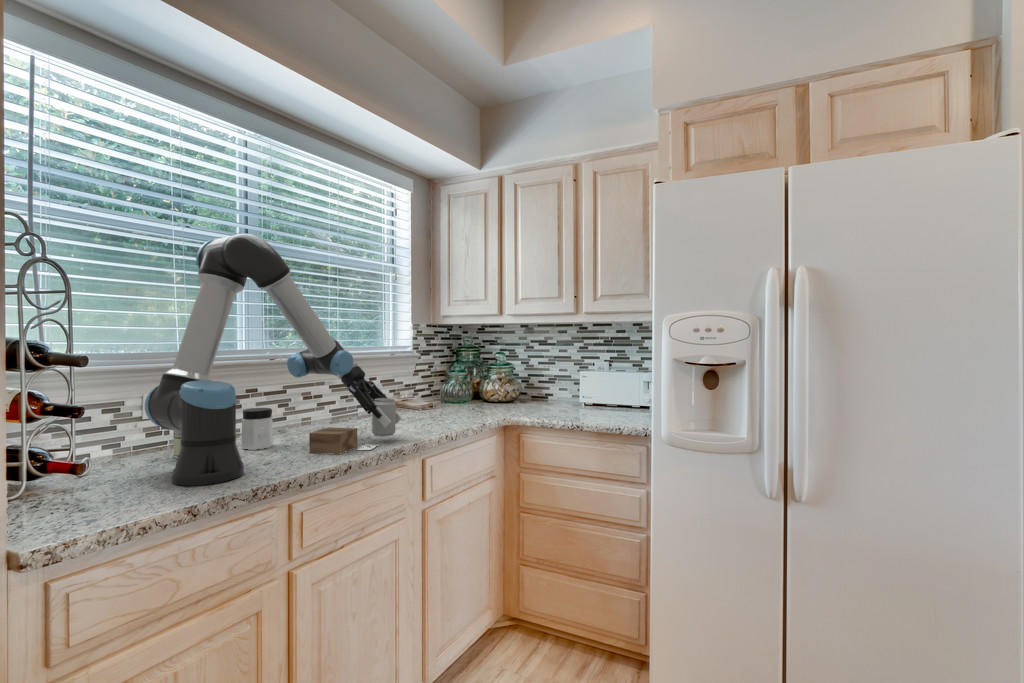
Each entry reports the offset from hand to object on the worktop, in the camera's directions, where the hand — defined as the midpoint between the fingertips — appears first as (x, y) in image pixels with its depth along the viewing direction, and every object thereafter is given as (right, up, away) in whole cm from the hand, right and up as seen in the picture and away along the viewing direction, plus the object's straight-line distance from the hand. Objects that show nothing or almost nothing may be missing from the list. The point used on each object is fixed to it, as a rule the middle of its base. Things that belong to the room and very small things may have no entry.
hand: (393, 422), depth 167 cm
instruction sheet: (-6, -6, -9) cm, 13 cm away
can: (-3, -4, +1) cm, 6 cm away
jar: (-41, -7, -8) cm, 42 cm away
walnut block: (-15, -6, -12) cm, 21 cm away
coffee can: (-55, -7, -18) cm, 58 cm away
